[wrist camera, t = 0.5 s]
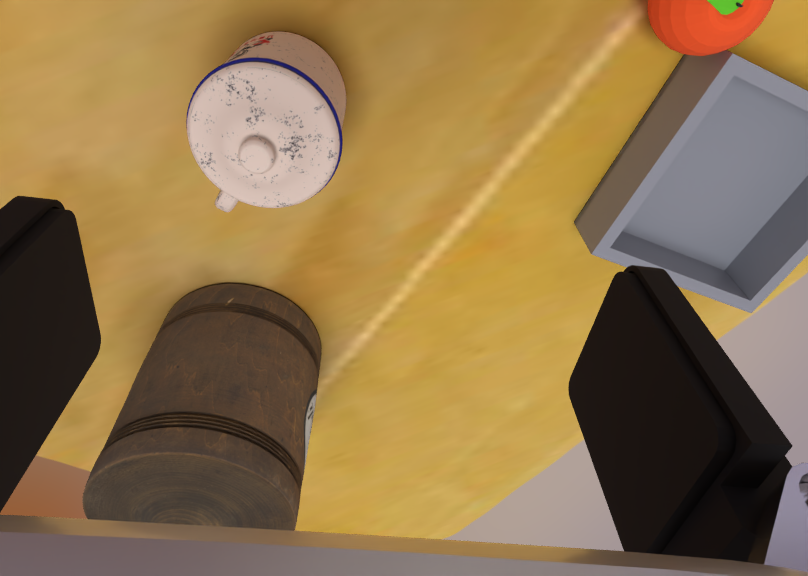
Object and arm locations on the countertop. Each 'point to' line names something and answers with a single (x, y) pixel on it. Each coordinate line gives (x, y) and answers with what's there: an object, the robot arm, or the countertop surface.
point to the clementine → (705, 23)
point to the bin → (710, 183)
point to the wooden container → (215, 417)
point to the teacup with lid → (269, 122)
